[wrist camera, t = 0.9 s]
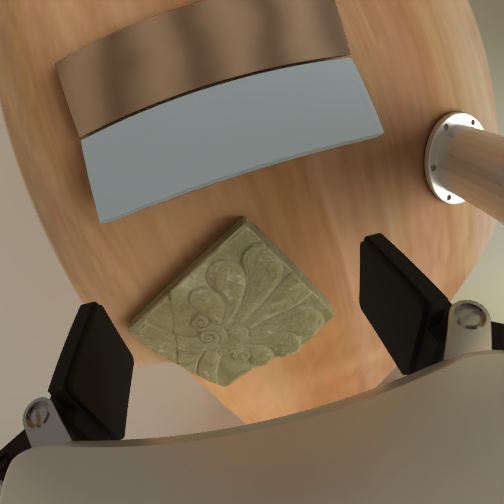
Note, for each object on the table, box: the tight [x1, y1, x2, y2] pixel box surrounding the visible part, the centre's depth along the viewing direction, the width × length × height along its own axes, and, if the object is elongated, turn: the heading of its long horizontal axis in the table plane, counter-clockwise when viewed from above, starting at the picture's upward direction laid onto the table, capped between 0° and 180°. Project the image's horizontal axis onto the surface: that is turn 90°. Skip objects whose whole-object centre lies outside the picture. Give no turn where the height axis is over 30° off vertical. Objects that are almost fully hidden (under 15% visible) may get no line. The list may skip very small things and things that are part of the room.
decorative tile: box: [129, 217, 335, 387], centre depth 37 cm, size 19×20×4 cm
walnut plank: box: [55, 0, 350, 137], centre depth 22 cm, size 26×8×2 cm, turn 106°
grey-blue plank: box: [81, 57, 384, 223], centre depth 25 cm, size 26×8×2 cm, turn 106°
